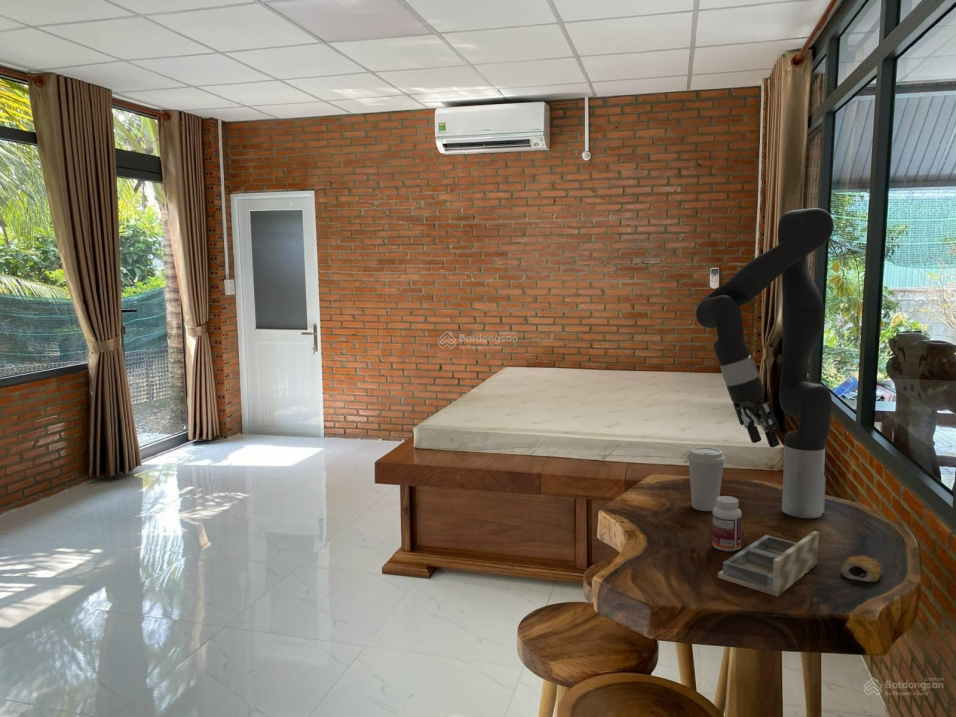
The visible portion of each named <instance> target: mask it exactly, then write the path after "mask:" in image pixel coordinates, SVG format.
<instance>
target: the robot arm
mask: <svg viewBox="0 0 956 717" xmlns="http://www.w3.org/2000/svg"><path fill="white" fill-rule="evenodd" d="M779 219H780V220H779V223H778V226H777V242H778V244H777V245H776V246H774V247H773V248H770V249H769V250H768V251H765V252H764V253H762V254H760V255H758V256H757V257H756V256H755V258H753V259H752V260H750V261H749V262H748V263H746V264H745V265H744V266H743V267H741V268H740V269H739V270H738V271H737V272H735V274H733V276H731V278H730V279H729V280H728V281H727V282H725V284H723V285H721V286H720V287H719V288H717V289H715V290H714V291H713V292H711V293H710V294H708V295H707V296H706V297H704V299H702V301H701V302H700V303H699V304H698V306H697V308H696V311H695V318H696V320H697V323H698V324H699V325H700V326H701V327H704V328H707V329H716V333H717V337H718V338H717V339H716V340H715V341H714V343H713V349H714V353H715V356H716V358H717V361H718V364H719V367H720V371H721V375H722V378H723V380H724V383H725V386H726V389H727V392H728V394H729V397H730V399H731V402H732V403H733V404H732V405H733V407H734V410H735V412H736V413H735V414H736V416H737V419H738V422H739V425H740V426H743V427H744V429H746V431H747V433H748V436H749V438H750V440H751V443H753V444H757V443H759V442H761V441H762V437H761V434H760V432H759V428H758V427H760V428H761V429H762V431H763V432H764V435H765V438H766V441H767V443H768V445H769V446H768V447H770V448H776V447H778V446H780V444H781V443H780V439H779V438H778V435H777V432H776V429H777V428H779V427H780V425H779V424H780V423H779V422H778V419H777V417H776V414H775V412H774V410H773V407H772V404H771V402H770V401H767V402H765V403H764V402H763V401H762V399H761V397H762V396H763V395H764V394H765V392H766V390H765V389H764V384H763V382H762V379H761V377H760V374H759V372H758V369H757V366H756V364H755V362H754V360H753V358H752V356H751V354H750V350H749V348H748V346H747V342H746V340H745V333H744V332H745V330H744V329H745V328H744V324H743V323H744V322H743V314H742V311H741V306H745V305H747V304H749V303H750V302H752V301H753V300H754V299H755V298H756V297H757V296H758V295H759V294H761V293H762V292H763V291H764V290H765V289H766V288H767V287H768V286H769V285H770V284H771V283H772V282H774V280H776V279H777V278H778V277H780V275H781V292H782V294H781V295H782V301H781V302H782V305H781V320H782V321H781V325H782V327H781V328H782V353H781V354H782V355H781V357H782V359H781V372H780V382H779V393H778V401H779V406H780V409H781V410H782V412H783V413H784V414H786V415H788V416H790V417H793V418H797V419H799V421H798V426H797V427H798V428H797V430H793V431H788V432H787V433H785V436H784V446H783V447H784V449H783V451H784V453H783V456H784V457H783V475H782V478H783V479H782V499H781V501H782V503H781V504H782V506H781V509H782V510H781V511H782V513H784V514H786V515H788V516H791V517H795V518H801V519H817V518H820V517H822V515H823V513H825V501H826V498H825V497H826V480H827V478H826V475H825V458H826V457H825V456H826V443H827V442H826V441H827V440H828V437H829V436H830V429H831V419H832V413H833V412H832V411H833V410H832V409H833V399H832V398H833V397H832V394H831V392H830V390H829V388H827V387H826V386H824V385H822V384H818V383H815V382H814V383H813V382H808V364H809V360H810V358H811V357H810V356H811V354H812V353H813V351H814V348H815V347H816V345H817V344H818V342H819V340H820V338H821V337H822V334H823V330H824V323H825V322H824V318H825V317H824V313H825V312H824V310H825V309H824V301H823V297H822V295H821V292H820V290H819V288H818V287H817V285H816V283H815V280H814V279H813V278H812V276H811V273H810V270H809V267H808V258H807V256H808V255H809V254H811V253H812V252H815V251H816V250H817V249H818V248H820V247H822V246H823V245H824V244H826V242H827V241H829V239H830V238H831V236H832V235H833V231H834V228H835V227H834V218H833V217H832V215H831V214H830V212H829V211H827V210H825V209H823V208H817V207H814V208H813V207H812V208H802V209H793V210H790V211H789V210H788V211H787V212H784V213H783V215H782V216H781V218H779Z"/></svg>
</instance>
